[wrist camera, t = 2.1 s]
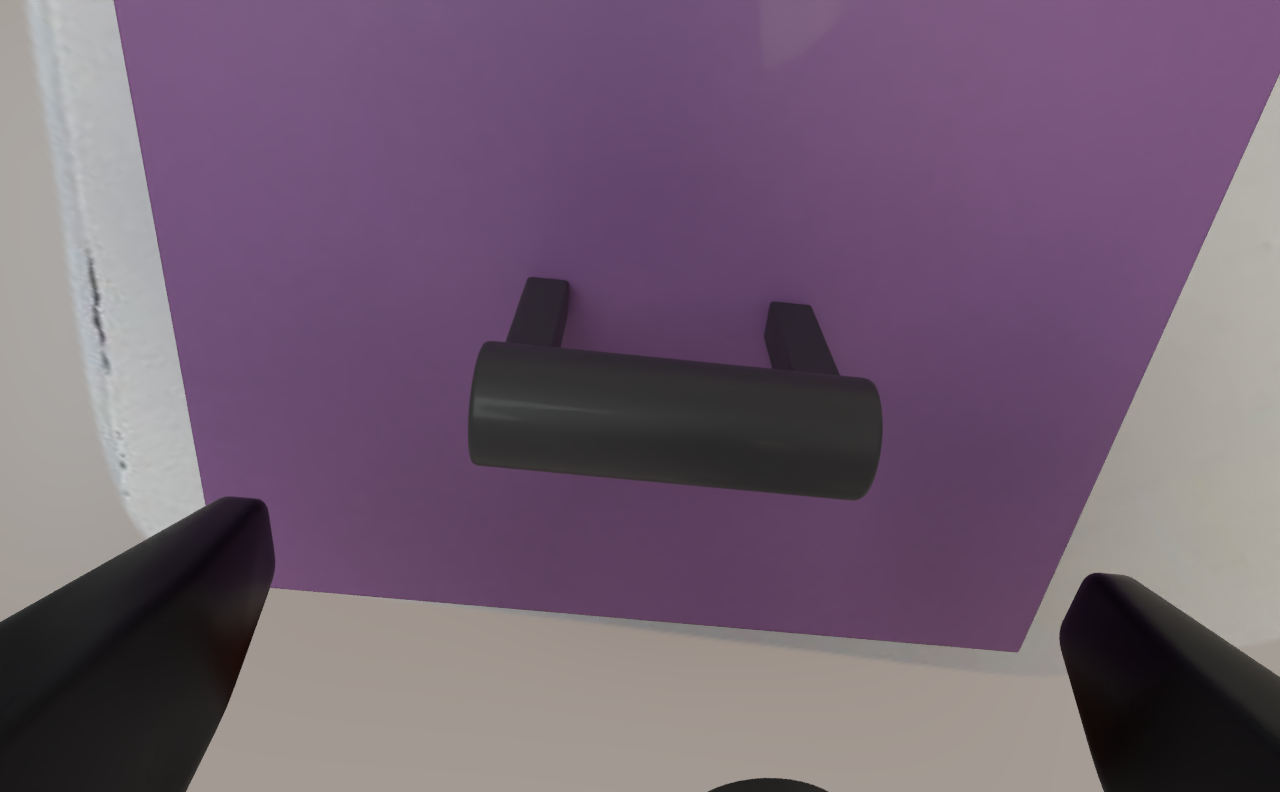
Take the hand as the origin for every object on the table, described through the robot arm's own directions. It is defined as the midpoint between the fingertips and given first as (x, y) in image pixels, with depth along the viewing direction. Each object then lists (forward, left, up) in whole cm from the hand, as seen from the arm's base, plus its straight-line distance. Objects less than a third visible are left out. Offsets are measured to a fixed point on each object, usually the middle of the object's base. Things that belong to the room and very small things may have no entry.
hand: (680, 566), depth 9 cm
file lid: (+1, 0, -6) cm, 6 cm away
